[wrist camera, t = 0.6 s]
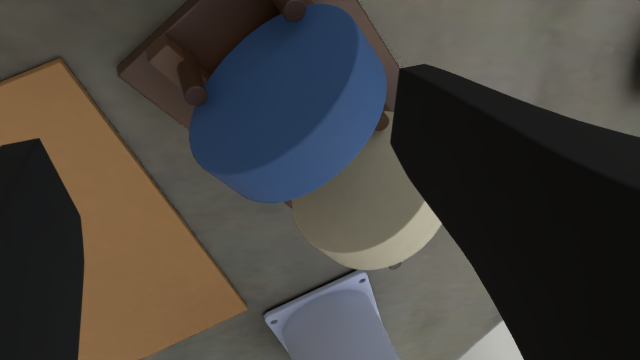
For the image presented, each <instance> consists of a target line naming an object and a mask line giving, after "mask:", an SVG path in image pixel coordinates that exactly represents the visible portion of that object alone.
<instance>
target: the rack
mask: <svg viewBox="0 0 640 360" xmlns="http://www.w3.org/2000/svg"><path fill="white" fill-rule="evenodd" d="M310 4H329V5H333V6H337V7H339V8H341V9H343V10H345V11H346V12H347V13H349V14H350V15H351V16H352V18H353V19H354V20H355V22H356V23H357V25H358V26H359V28H360V29H361V31H362V32H363V34H364V35H365V37H366V39H367V40H368V42H369V43H370V45H371V46H372V48H373V49H374V51H375V52H376V54H377V55H378V57H379V58H380V60H381V62H382V64H383V66H384V70H385V74H386V82H387V91H386V100H385V104H384V108H383V111H382V114H381V117H380V119H379V122H378V124H377V126H376V128H375V130H376V131H382V130H384V129H385V128H386V127H387V126H388V125H389V117H388V116H387V115H386V114H385V112H384V111H389V112H394V107H395V99H396V91H397V83H398V76H399V69H400V68H399V66H398V65H397V63H396V61H395V60H394V58H393V57H392V55H391V53H390V52H389V50H388V48H387V47H386V45H385V44H384V42H383V40H382V39H381V37H380V36H379V34H378V32H377V31H376V29H375V28H374V26H373V24H372V23H371V21H370V20H369V18H368V16H367V15H366V13H365V11H364V10H363V8H362V7H361V5H360V3H359V2H358V0H188V1H187V2H186V3H185V4H184V5H183V6H182V7H181V8H180V9H179V10H178V11H177V12H175V13H174V14H173V15H172V16H171V17H170V18H169V19H168V20H167V21H166V22H165V23H164V24H163V25H161V26H160V27H159V28H158V29H157V30H156V31H155V32H154V33H153V34H152V35H151V36H150V37H148V38H147V39H146V40H145V41H144V42H143V43H142V44H141V45H140V46H139V47H138V48H137V49H135V50H134V51H133V52H132V53H131V54H130V55H129V56H128V57H127V58H126V59H125V60H124V61H122V62H121V63H120V64H119V65H118V66H117V71H118V76H119V77H120V78H121V79H123V80H124V81H125V82H127V83H128V84H129V85H130V86H132V87H133V88H134V89H136V90H137V91H138V92H140V93H141V94H142V95H144V96H145V97H146V98H148V99H149V100H150V101H151V102H153V103H154V104H155V105H157V106H158V107H159V108H161V109H162V110H163V111H165V112H166V113H167V114H169V115H170V116H171V117H172V118H174V119H175V120H176V121H178V122H179V123H180V124H182V125H183V126H184V127H186V128H187V129H188V130H190V122H191V118H192V114H193V111H194V108H195V106H200V105H202V104H204V103H205V102H206V100H207V98H208V93H207V90H206V87H205V85H206V83H207V81H208V80H209V78H210V77H211V75H212V74H213V72H214V71H215V70H216V68H217V67H218V65H219V64H220V63H221V62H222V61H223V59H224V58H225V57H226V56H227V55H228V54H229V53H230V52H231V51H232V50H233V49H234V47H236V46H237V45H238V44H239V43H240V42H241V41H242V40H243V39H244V38H245V37H247V36H248V35H249V34H250V33H251V32H253V31H254V30H256V29H257V28H258V27H260V26H261V25H263V24H264V23H266V22H267V21H269V20H271V19H272V18H274V17H276V16H278V15H280V14H282V15H283V16H284V18H285V19H286V20H287V21H289V22H298V21H300V20H301V19H302V18H303V17H304V15H305V13H306V5H310ZM284 203H285V204H287V205H288V206H289V207H291V208H292V200H289V201H284ZM400 265H401V262H400V263H397V264H395V265H392V266H389V268H390V269H396V268H398V267H399V266H400Z"/></svg>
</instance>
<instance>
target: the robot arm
mask: <svg viewBox="0 0 640 360" xmlns="http://www.w3.org/2000/svg"><path fill="white" fill-rule="evenodd" d="M390 144H391V146H392V148H393V150H394V152H395V154H396V156H397V158H398V160H399V162H400V164H401V166H402V168H403V169H404V171H405V173H406V175H407V176H408V178H409V180H410V181H411V182H412V184H413V185H414V187H415V188H416V189H417V191H418V192H419V193H420V195H421V196H422V198H423V199H424V200H425V202H426V203H427V204H428V206H429V207H430V208H431V210H432V211H433V212H434V214H435V215H436V216H437V218H438V219H439V220H440V222H441V223H442V224H443V226H444V227H445V228H446V230H447V231H448V232H449V234H450V235H451V236H452V238H453V239H454V240H455V242H456V243H457V244H458V246H459V247H460V248H461V250H462V251H463V253H464V254H465V256H466V257H467V259H468V260H469V262H470V263H471V265H472V266H473V268H474V270H475V271H476V273H477V275H478V276H479V278H480V280H481V281H482V283H483V285H484V287H485V288H486V290H487V292H488V293H489V295H490V297H491V299H492V300H493V302H494V304H495V306H496V307H497V309H498V311H499V313H500V315H501V317H502V318H503V320H504V322H505V324H506V326H507V328H508V329H509V331H510V333H511V335H512V337H513V339H514V341H515V343H516V345H517V346H518V349H519V350H520V353H521V355H522V356H523V359H524V360H640V137H636V136H632V135H628V134H624V133H621V132H617V131H613V130H610V129H606V128H602V127H599V126H595V125H592V124H588V123H585V122H581V121H578V120H575V119H572V118H569V117H566V116H563V115H560V114H557V113H554V112H551V111H549V110H546V109H543V108H540V107H537V106H534V105H532V104H529V103H526V102H524V101H521V100H518V99H516V98H513V97H511V96H508V95H506V94H503V93H501V92H498V91H496V90H493V89H491V88H488V87H486V86H483V85H481V84H478V83H476V82H473V81H471V80H468V79H466V78H463V77H461V76H458V75H456V74H453V73H450V72H448V71H445V70H442V69H439V68H436V67H433V66H429V65H426V64H422V65H416V66H411V67H406V68H401V69H399V76H398V83H397V91H396V99H395V107H394V115H393V122H392V130H391V138H390ZM84 263H85V261H84V247H83V235H82V224H81V216H80V214H79V212H78V210H77V208H76V206H75V204H74V203H73V201H72V199H71V197H70V195H69V193H68V191H67V189H66V187H65V185H64V184H63V182H62V180H61V178H60V176H59V174H58V172H57V170H56V168H55V166H54V165H53V163H52V161H51V159H50V157H49V155H48V153H47V151H46V149H45V148H44V146H43V144H42V142H41V140H40V138H37V139H31V140H26V141H21V142H16V143H11V144H5V145H2V146H1V147H0V360H78V354H79V340H80V326H81V312H82V297H83V281H84ZM264 319H265V322H266V323H267V324H268V326H269V327H270V329H271V330H272V331H273V333H274V334H275V335H276V337H277V338H278V340H279V341H280V342H281V344H282V345H283V346H284V348H285V349H286V350H287V352H288V353H289V355H290V358H291V360H400V358H399V356H398V354H397V352H396V350H395V348H394V346H393V344H392V342H391V340H390V338H389V336H388V334H387V332H386V330H385V329H384V327H383V325H382V321H381V318H380V315H379V311H378V308H377V305H376V302H375V298H374V295H373V292H372V289H371V285H370V282H369V279H368V276H367V273H366V271H365V270H357V271H355V272H353V273H350V274H348V275H346V276H344V277H342V278H340V279H337V280H335V281H333V282H331V283H329V284H327V285H325V286H322V287H320V288H318V289H316V290H314V291H312V292H309V293H307V294H305V295H303V296H301V297H299V298H297V299H294V300H292V301H290V302H288V303H286V304H284V305H281V306H279V307H277V308H275V309H273V310H271V311H269V312H267V313H266V314H265V315H264Z"/></svg>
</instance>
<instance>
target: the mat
mask: <svg viewBox="0 0 640 360" xmlns="http://www.w3.org/2000/svg"><path fill="white" fill-rule="evenodd" d="M37 138H40V140H41V142H42V144H43V146H44V148H45V149H46V151H47V153H48V155H49V157H50V159H51V161H52V163H53V165H54V166H55V168H56V170H57V172H58V174H59V176H60V178H61V180H62V182H63V184H64V185H65V187H66V189H67V191H68V193H69V195H70V197H71V199H72V201H73V203H74V204H75V206H76V208H77V210H78V212H79V214H80V216H81V224H82V235H83V247H84V261H85V263H84V281H83V297H82V312H81V326H80V340H79V354H78V360H141V359H143V358H145V357H147V356H149V355H152V354H154V353H156V352H158V351H160V350H162V349H165V348H167V347H169V346H171V345H173V344H175V343H178V342H180V341H182V340H184V339H186V338H188V337H191V336H193V335H195V334H197V333H199V332H201V331H204V330H206V329H208V328H210V327H212V326H214V325H217V324H219V323H221V322H223V321H225V320H227V319H230V318H232V317H234V316H236V315H238V314H240V313H243V312H245V311H247V310H248V306H247V304H246V303H245V302H244V300H243V299H242V298H241V296H240V295H239V294H238V293H237V291H236V290H235V289H234V287H233V286H232V285H231V283H230V282H229V281H228V279H227V278H226V277H225V275H224V274H223V273H222V271H221V270H220V269H219V267H218V266H217V265H216V263H215V262H214V261H213V259H212V258H211V257H210V255H209V254H208V253H207V251H206V250H205V249H204V247H203V246H202V245H201V243H200V242H199V241H198V239H197V238H196V237H195V235H194V234H193V233H192V231H191V230H190V229H189V227H188V226H187V225H186V223H185V222H184V221H183V219H182V218H181V217H180V215H179V214H178V213H177V211H176V210H175V209H174V207H173V206H172V205H171V203H170V202H169V201H168V199H167V198H166V197H165V196H164V194H163V193H162V192H161V190H160V189H159V188H158V186H157V185H156V184H155V182H154V181H153V180H152V178H151V177H150V176H149V174H148V173H147V172H146V170H145V169H144V168H143V166H142V165H141V164H140V162H139V161H138V160H137V158H136V157H135V156H134V154H133V153H132V152H131V150H130V149H129V148H128V146H127V145H126V144H125V142H124V141H123V140H122V138H121V137H120V136H119V134H118V133H117V132H116V130H115V129H114V128H113V126H112V125H111V124H110V122H109V121H108V120H107V118H106V117H105V116H104V114H103V113H102V112H101V110H100V109H99V108H98V106H97V105H96V104H95V103H94V101H93V100H92V99H91V97H90V96H89V95H88V93H87V92H86V91H85V89H84V88H83V87H82V85H81V84H80V83H79V81H78V80H77V79H76V77H75V76H74V75H73V73H72V72H71V71H70V69H69V68H68V67H67V65H66V64H65V63H64V61H63V60H62V59H61V58H58V59H56V60H54V61H51V62H49V63H46V64H44V65H41V66H39V67H36V68H34V69H31V70H29V71H26V72H24V73H21V74H19V75H16V76H14V77H11V78H9V79H6V80H4V81H1V82H0V147H1V146H2V145H5V144H11V143H16V142H21V141H26V140H31V139H37Z"/></svg>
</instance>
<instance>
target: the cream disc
mask: <svg viewBox="0 0 640 360" xmlns="http://www.w3.org/2000/svg"><path fill="white" fill-rule="evenodd" d="M384 112H385V114H386V115H387V116H388V117H389V125H388V126H387V127H386V128H385V129H384V130H382V131H376V130H374V132H373V134H372V135H371V137H370V138H369V140H368V141H367V143H366V145H365V146H364V147H363V149H362V150H361V151H360V152H359V154H358V155H357V156H356V157H355V158H354V159H353V160H352V161H351V162H350V164H349V165H348V166H347V167H346V168H345V169H343V170H342V171H341V172H340V173H339V174H338V175H336V176H335V177H334V178H333V179H331V180H330V181H328V182H327V183H326V184H324V185H323V186H321V187H319V188H317V189H316V190H314V191H312V192H310V193H308V194H306V195H303V196H301V197H299V198H295V199H292V211H293V217H294V220H295V223H296V226H297V227H298V229H299V231H300V233H301V234H302V235H303V237H304V238H305V239H306V240H307V241H308V242H309V243H310V244H312V245H313V246H315V247H316V248H317V249H319V250H320V251H322V252H323V253H325V254H326V255H327V256H329V257H330V258H332V259H333V260H335V261H336V262H338V263H339V264H341V265H344V266H346V267H349V268H353V269H358V270H376V269H382V268H386V267H389V266H392V265H395V264H397V263H400V262H402V261H404V260H406V259H407V258H409V257H411V256H412V255H414V254H415V253H416V252H418V251H419V250H420V249H421V248H423V247H424V246H425V245H426V244H427V243H428V242H429V241H430V240H431V238H432V237H433V236H434V234H435V233H436V232H437V231H438V229H439V227H440V226H441V224H442V223H441V222H440V220H439V219H438V218H437V216H436V215H435V214H434V212H433V211H432V210H431V208H430V207H429V206H428V204H427V203H426V202H425V200H424V199H423V198H422V196H421V195H420V193H419V192H418V191H417V189H416V188H415V187H414V185H413V184H412V182H411V181H410V180H409V178H408V176H407V175H406V173H405V171H404V169H403V168H402V166H401V164H400V162H399V160H398V158H397V156H396V154H395V152H394V150H393V148H392V146H391V144H390V138H391V130H392V122H393V115H394V112H389V111H384Z"/></svg>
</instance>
